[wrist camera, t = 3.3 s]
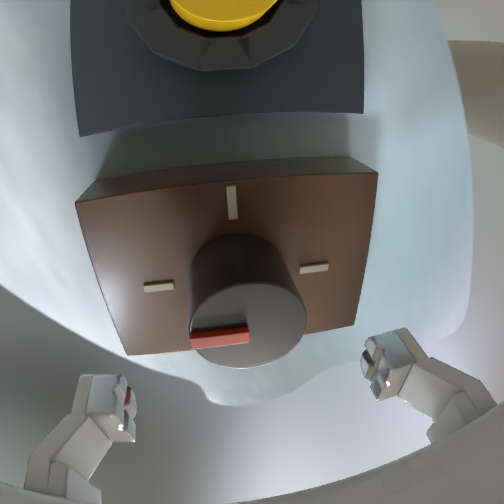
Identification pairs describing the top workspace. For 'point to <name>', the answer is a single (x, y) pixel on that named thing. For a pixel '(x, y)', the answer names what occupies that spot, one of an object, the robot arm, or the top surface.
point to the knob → (243, 303)
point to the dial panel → (225, 224)
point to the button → (221, 13)
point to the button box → (212, 63)
